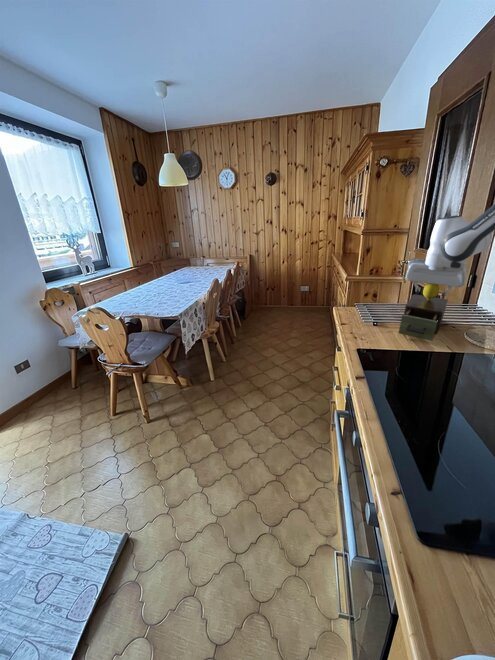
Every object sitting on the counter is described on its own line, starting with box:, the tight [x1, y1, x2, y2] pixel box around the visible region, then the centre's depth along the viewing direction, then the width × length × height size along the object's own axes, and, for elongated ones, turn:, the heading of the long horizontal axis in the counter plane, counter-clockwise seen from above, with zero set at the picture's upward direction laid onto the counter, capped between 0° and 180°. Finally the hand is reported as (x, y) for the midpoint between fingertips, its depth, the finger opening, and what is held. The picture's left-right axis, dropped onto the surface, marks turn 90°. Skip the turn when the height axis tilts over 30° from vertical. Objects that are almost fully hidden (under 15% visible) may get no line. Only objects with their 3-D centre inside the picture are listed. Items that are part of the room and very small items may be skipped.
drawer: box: [397, 308, 439, 342], centre depth 110 cm, size 18×12×8 cm, turn 142°
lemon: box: [422, 283, 440, 300], centre depth 116 cm, size 6×6×8 cm
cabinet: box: [403, 293, 449, 336], centre depth 118 cm, size 15×13×10 cm
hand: (430, 293), depth 116 cm, fingers open, 8 cm apart
